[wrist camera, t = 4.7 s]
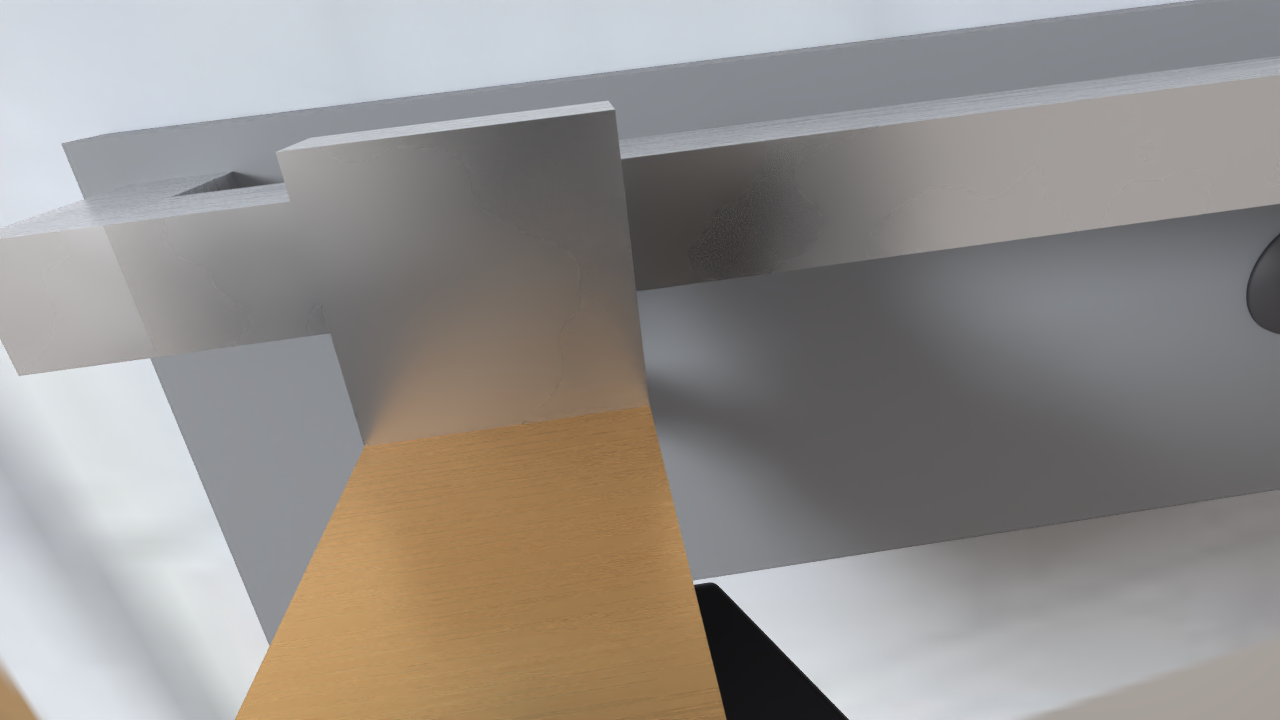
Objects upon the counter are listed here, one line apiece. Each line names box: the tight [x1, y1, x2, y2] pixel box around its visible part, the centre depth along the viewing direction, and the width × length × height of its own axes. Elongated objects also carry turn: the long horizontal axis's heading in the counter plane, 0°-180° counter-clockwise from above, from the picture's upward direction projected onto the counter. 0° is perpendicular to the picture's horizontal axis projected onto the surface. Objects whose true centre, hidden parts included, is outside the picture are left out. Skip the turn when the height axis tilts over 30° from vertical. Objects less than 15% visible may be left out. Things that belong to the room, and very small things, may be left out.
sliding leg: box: [235, 101, 727, 720], centre depth 8 cm, size 3×7×9 cm, turn 6°
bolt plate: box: [62, 0, 1280, 646], centre depth 14 cm, size 26×10×1 cm, turn 96°
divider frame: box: [0, 56, 1280, 376], centre depth 11 cm, size 22×6×4 cm, turn 96°
